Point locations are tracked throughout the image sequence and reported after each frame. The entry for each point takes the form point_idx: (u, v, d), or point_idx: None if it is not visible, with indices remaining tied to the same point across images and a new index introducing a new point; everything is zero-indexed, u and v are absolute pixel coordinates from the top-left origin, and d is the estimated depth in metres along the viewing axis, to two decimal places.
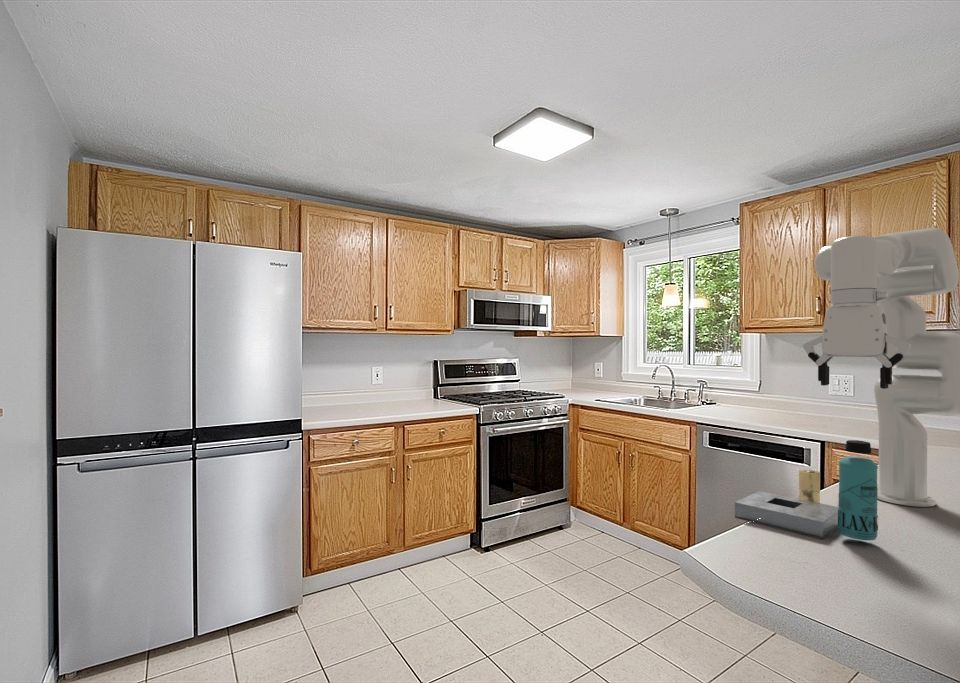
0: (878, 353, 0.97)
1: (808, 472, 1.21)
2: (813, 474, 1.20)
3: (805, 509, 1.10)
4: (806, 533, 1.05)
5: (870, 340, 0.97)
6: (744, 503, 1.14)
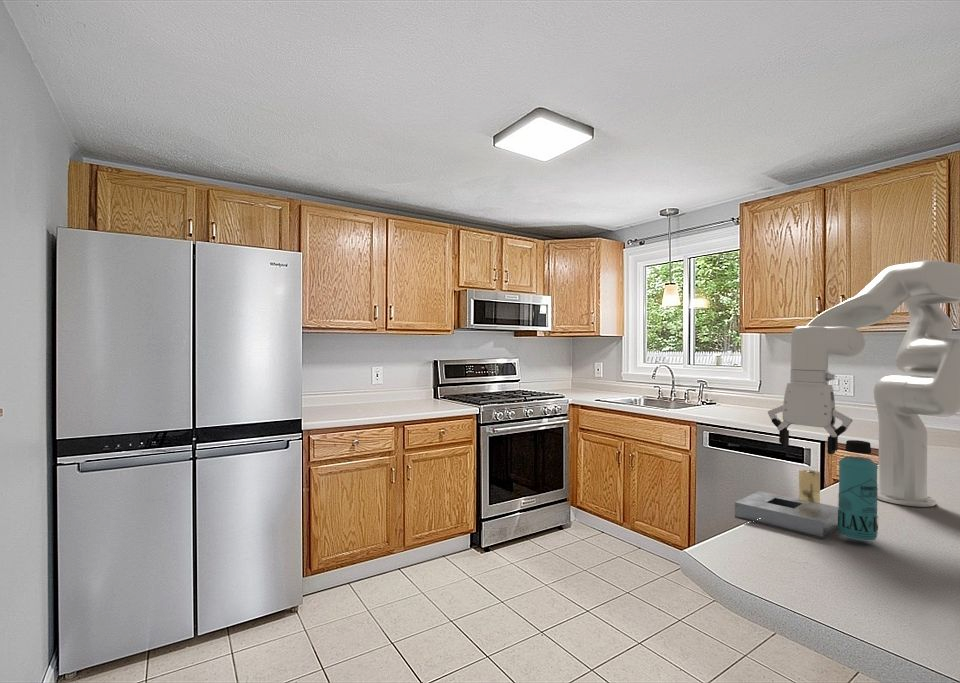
0: (826, 425, 1.17)
1: (808, 472, 1.21)
2: (813, 474, 1.20)
3: (805, 509, 1.10)
4: (806, 533, 1.05)
5: (820, 413, 1.18)
6: (744, 503, 1.14)
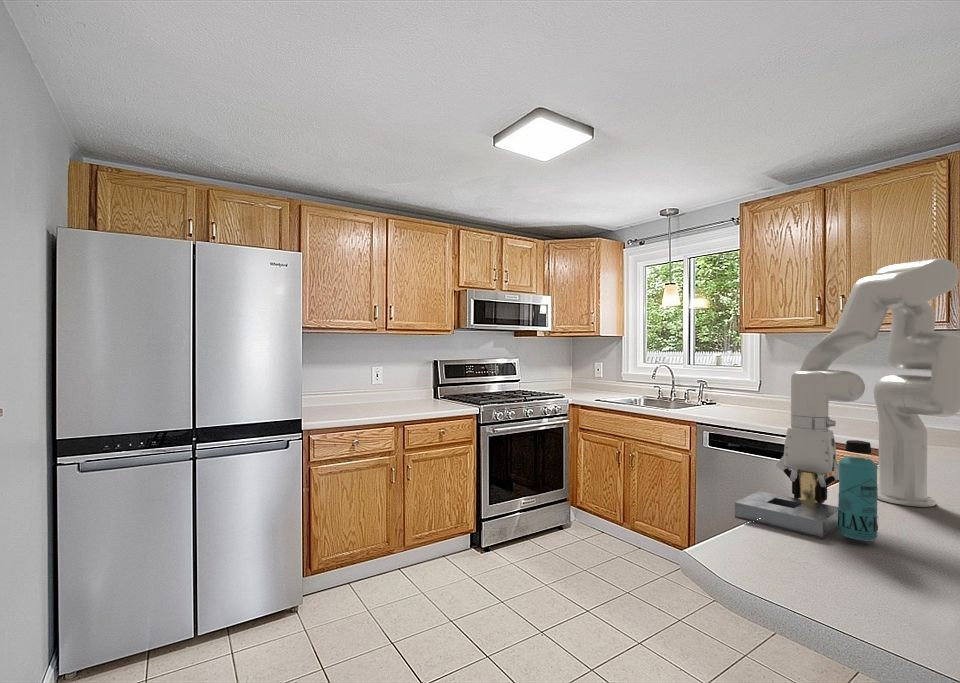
0: (827, 472, 1.17)
1: (808, 472, 1.21)
2: (813, 474, 1.20)
3: (805, 509, 1.10)
4: (806, 533, 1.05)
5: (821, 460, 1.18)
6: (744, 503, 1.14)
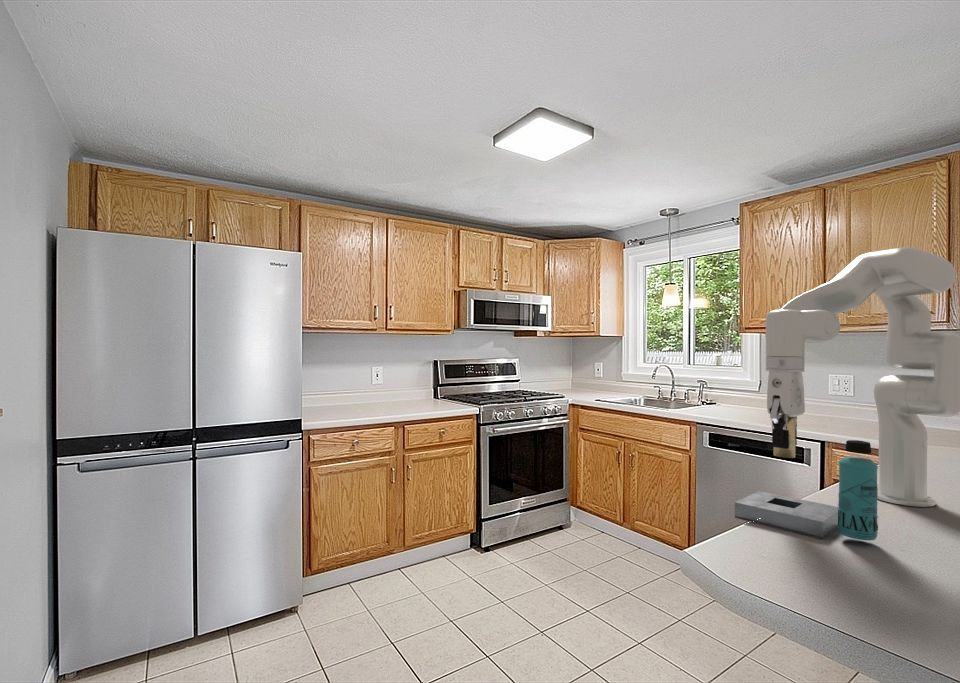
0: (768, 412, 1.14)
1: None
2: None
3: (805, 509, 1.10)
4: (806, 533, 1.05)
5: None
6: (744, 503, 1.14)
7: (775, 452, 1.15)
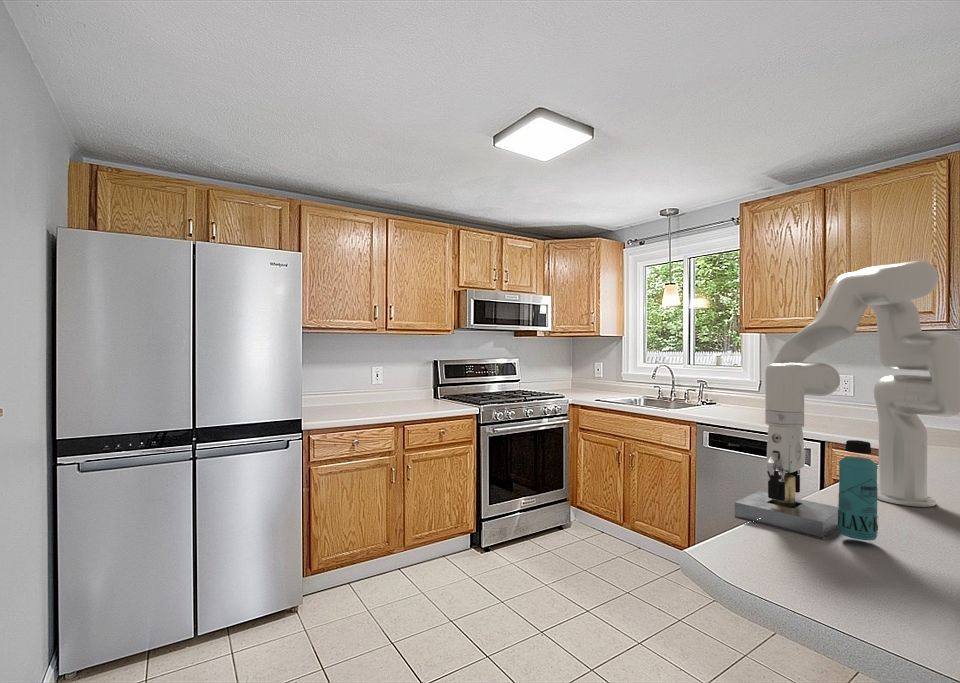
0: None
1: None
2: None
3: (805, 509, 1.10)
4: (806, 533, 1.05)
5: None
6: (744, 503, 1.14)
7: None
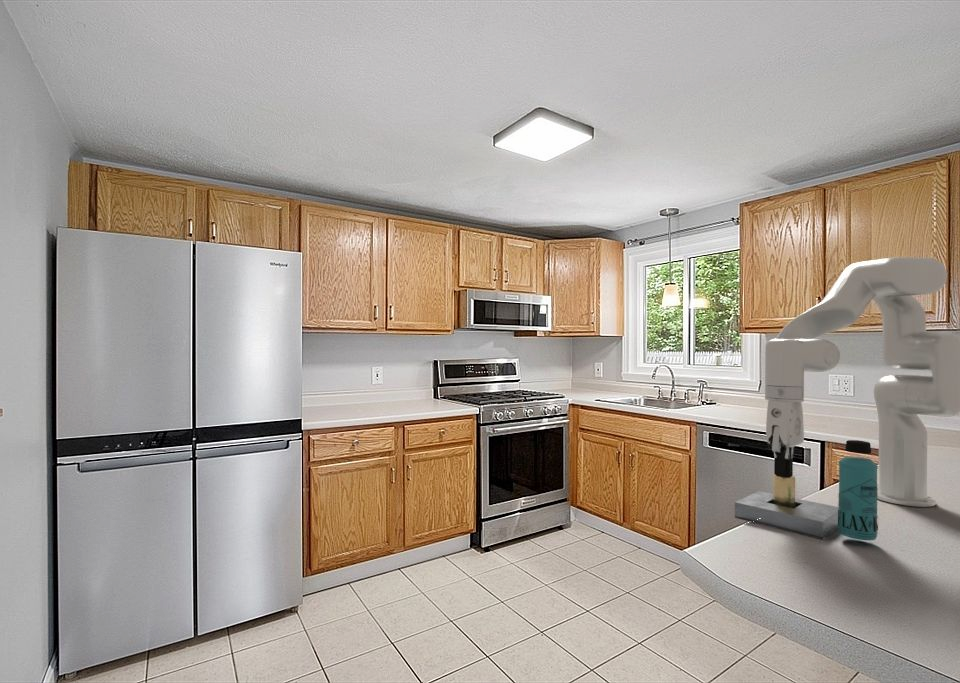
0: (767, 441, 1.14)
1: None
2: (774, 476, 1.15)
3: (805, 509, 1.10)
4: (806, 533, 1.05)
5: None
6: (744, 503, 1.14)
7: None
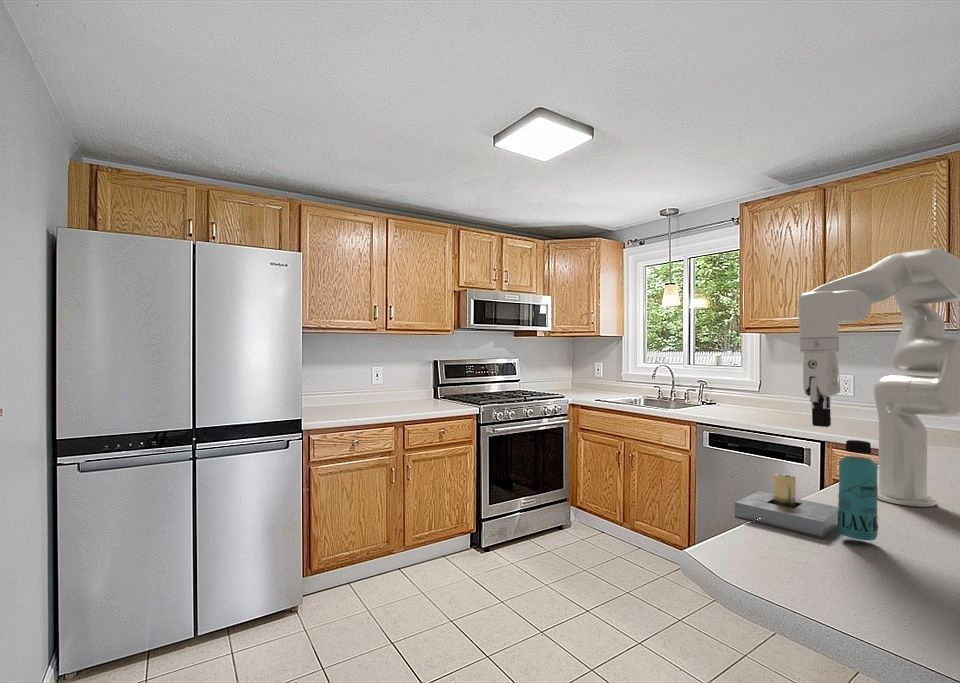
0: None
1: (777, 475, 1.16)
2: (774, 476, 1.15)
3: (805, 509, 1.10)
4: (806, 533, 1.05)
5: None
6: (744, 503, 1.14)
7: None
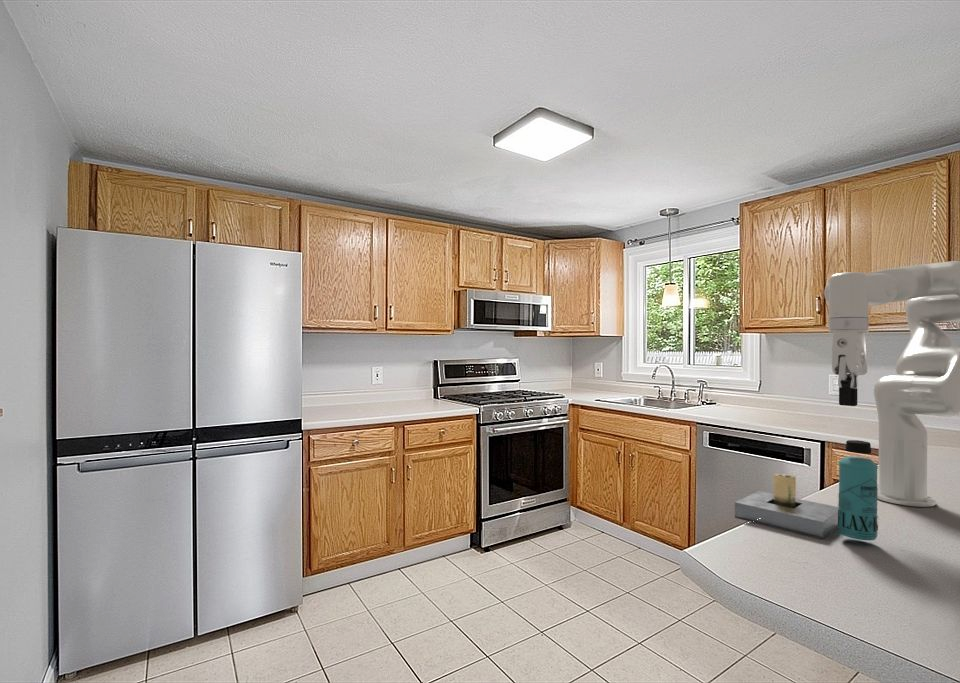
0: None
1: (777, 475, 1.16)
2: (774, 476, 1.15)
3: (805, 509, 1.10)
4: (806, 533, 1.05)
5: None
6: (744, 503, 1.14)
7: None
